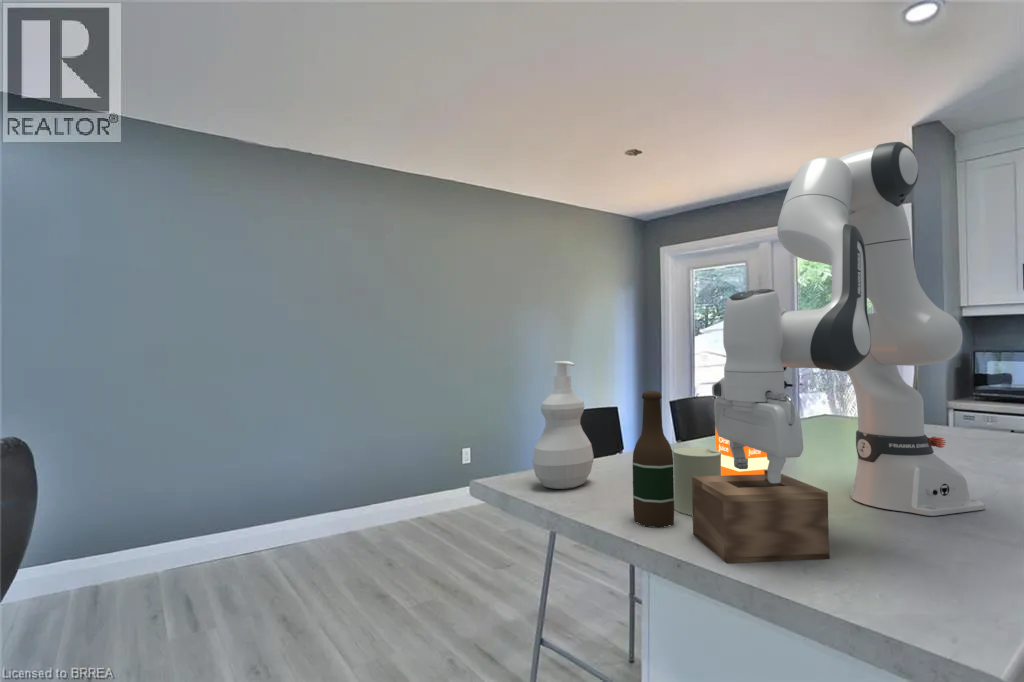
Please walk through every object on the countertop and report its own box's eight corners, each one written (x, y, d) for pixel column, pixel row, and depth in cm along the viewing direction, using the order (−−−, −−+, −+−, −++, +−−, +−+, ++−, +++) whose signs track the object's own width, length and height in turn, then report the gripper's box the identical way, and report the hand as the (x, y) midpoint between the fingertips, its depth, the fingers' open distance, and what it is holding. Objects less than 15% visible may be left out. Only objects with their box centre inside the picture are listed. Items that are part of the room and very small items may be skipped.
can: (727, 518, 99) (725, 454, 99) (676, 515, 101) (674, 452, 101) (718, 504, 108) (716, 445, 108) (671, 502, 110) (670, 444, 110)
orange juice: (715, 490, 118) (714, 401, 119) (748, 487, 121) (746, 400, 121) (740, 500, 111) (738, 405, 111) (774, 496, 113) (772, 403, 114)
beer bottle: (627, 515, 101) (625, 390, 102) (666, 514, 102) (664, 389, 102) (640, 529, 94) (638, 393, 94) (682, 527, 94) (680, 392, 95)
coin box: (782, 531, 91) (781, 473, 92) (829, 558, 79) (827, 491, 80) (693, 535, 90) (691, 476, 90) (726, 563, 78) (725, 495, 78)
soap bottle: (555, 496, 115) (553, 362, 116) (521, 486, 124) (519, 361, 124) (606, 483, 126) (604, 360, 126) (571, 475, 135) (569, 360, 135)
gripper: (813, 393, 75) (816, 491, 75) (740, 384, 96) (742, 461, 95) (771, 394, 75) (774, 492, 74) (707, 385, 95) (709, 462, 95)
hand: (756, 475), depth 85 cm, fingers open, 8 cm apart
